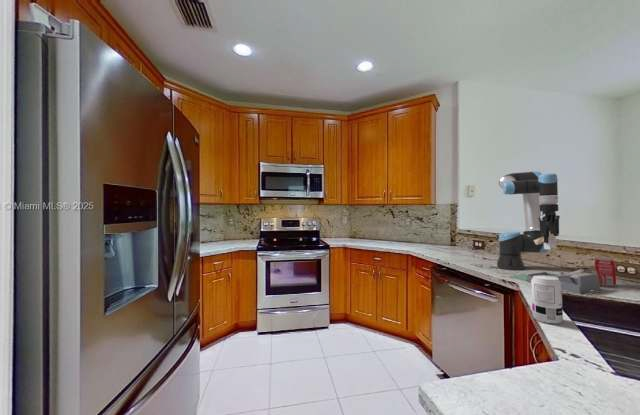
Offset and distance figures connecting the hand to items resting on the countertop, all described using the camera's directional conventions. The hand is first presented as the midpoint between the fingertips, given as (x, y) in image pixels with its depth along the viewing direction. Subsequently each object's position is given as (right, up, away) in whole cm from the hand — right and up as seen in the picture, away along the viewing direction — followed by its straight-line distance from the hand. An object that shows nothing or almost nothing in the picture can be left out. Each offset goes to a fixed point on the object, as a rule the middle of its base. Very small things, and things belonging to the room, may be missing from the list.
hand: (550, 248), depth 144 cm
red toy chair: (+22, -17, -6) cm, 29 cm away
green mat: (-5, -18, +12) cm, 22 cm away
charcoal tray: (+1, -18, -5) cm, 18 cm away
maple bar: (-1, +3, +2) cm, 4 cm away
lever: (+2, -13, -6) cm, 15 cm away
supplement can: (-40, -18, -47) cm, 64 cm away
